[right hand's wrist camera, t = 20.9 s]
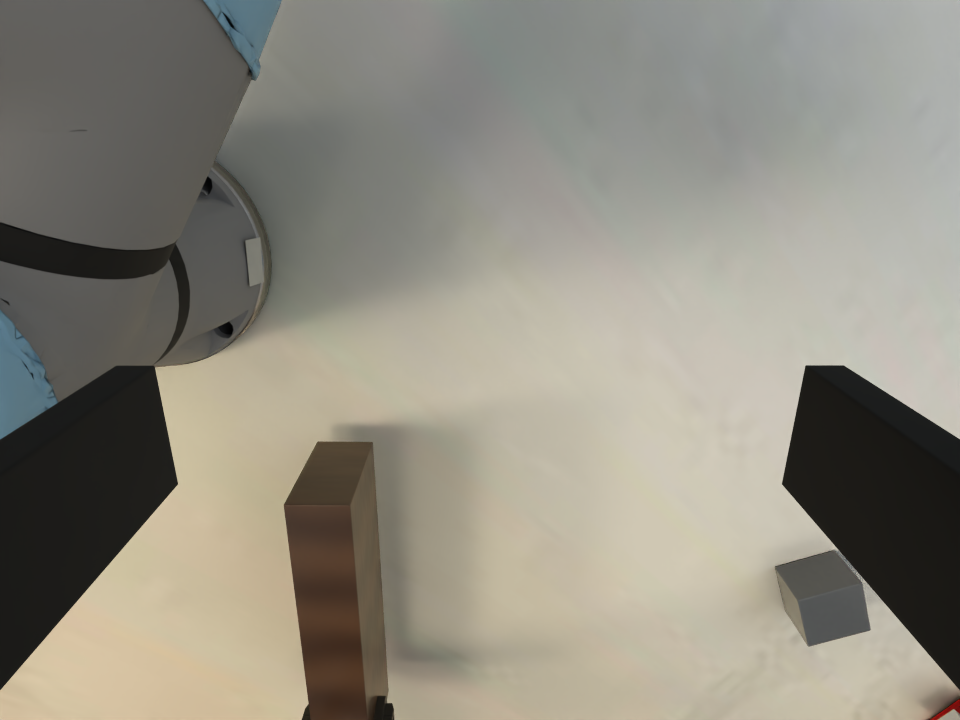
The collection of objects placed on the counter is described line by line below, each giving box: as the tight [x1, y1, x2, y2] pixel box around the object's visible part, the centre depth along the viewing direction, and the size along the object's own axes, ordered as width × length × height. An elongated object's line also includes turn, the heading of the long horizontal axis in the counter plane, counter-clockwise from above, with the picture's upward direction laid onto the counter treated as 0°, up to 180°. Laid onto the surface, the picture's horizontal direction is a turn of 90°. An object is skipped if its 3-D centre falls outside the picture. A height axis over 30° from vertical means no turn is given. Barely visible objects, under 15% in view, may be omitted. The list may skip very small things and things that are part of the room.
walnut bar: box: [284, 442, 388, 720], centre depth 44 cm, size 24×4×8 cm, turn 0°
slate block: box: [775, 551, 871, 646], centre depth 50 cm, size 5×5×4 cm
